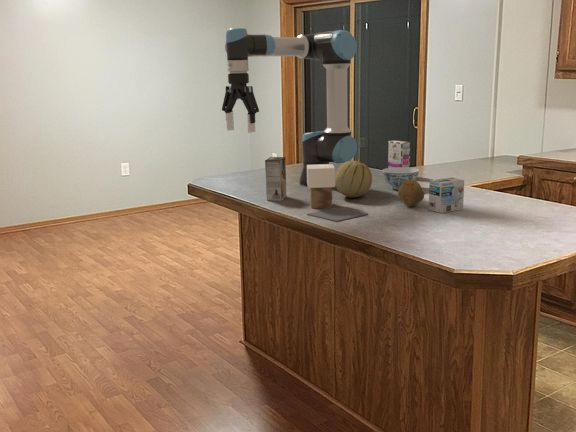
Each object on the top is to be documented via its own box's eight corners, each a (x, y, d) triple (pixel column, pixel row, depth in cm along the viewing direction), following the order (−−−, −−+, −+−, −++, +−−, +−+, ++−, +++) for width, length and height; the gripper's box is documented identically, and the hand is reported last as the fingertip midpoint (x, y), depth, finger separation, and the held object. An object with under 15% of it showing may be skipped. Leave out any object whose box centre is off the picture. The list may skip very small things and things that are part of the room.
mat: (337, 208, 225) (337, 206, 225) (367, 214, 213) (367, 213, 213) (307, 214, 215) (307, 213, 215) (336, 222, 204) (336, 220, 204)
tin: (330, 203, 233) (330, 166, 230) (332, 207, 226) (331, 169, 222) (310, 203, 233) (309, 167, 230) (311, 208, 226) (310, 170, 222)
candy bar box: (410, 177, 282) (410, 142, 278) (401, 178, 280) (401, 142, 276) (396, 174, 291) (396, 139, 288) (387, 175, 289) (387, 140, 286)
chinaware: (408, 192, 248) (408, 174, 246) (375, 189, 257) (375, 171, 255) (424, 186, 260) (425, 168, 258) (392, 183, 269) (392, 166, 267)
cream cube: (332, 182, 232) (332, 164, 231) (335, 187, 223) (334, 168, 221) (307, 183, 232) (306, 164, 231) (308, 187, 223) (307, 168, 221)
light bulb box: (440, 213, 212) (441, 182, 210) (427, 209, 218) (428, 180, 215) (464, 209, 217) (465, 179, 214) (450, 206, 223) (451, 176, 220)
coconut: (392, 205, 227) (392, 178, 225) (412, 202, 230) (413, 176, 228) (406, 209, 219) (407, 182, 217) (427, 206, 222) (427, 179, 220)
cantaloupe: (326, 198, 242) (326, 160, 239) (349, 192, 253) (349, 156, 249) (357, 202, 232) (357, 163, 229) (379, 196, 243) (379, 158, 239)
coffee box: (271, 195, 250) (270, 156, 246) (286, 196, 249) (285, 156, 245) (266, 200, 241) (264, 160, 238) (282, 200, 240) (280, 160, 236)
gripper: (210, 73, 230) (214, 130, 235) (250, 72, 212) (252, 134, 217) (227, 72, 235) (230, 128, 240) (267, 71, 216) (269, 132, 221)
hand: (240, 131), depth 228 cm, fingers open, 13 cm apart
